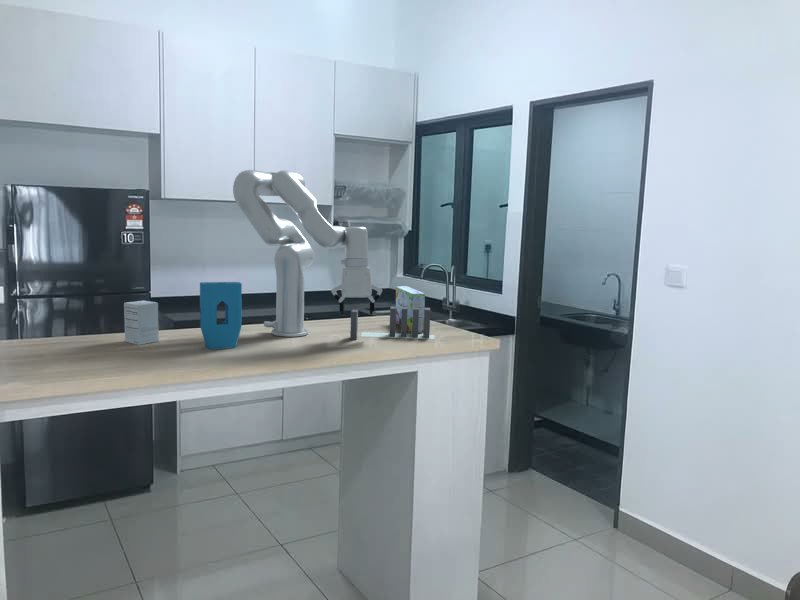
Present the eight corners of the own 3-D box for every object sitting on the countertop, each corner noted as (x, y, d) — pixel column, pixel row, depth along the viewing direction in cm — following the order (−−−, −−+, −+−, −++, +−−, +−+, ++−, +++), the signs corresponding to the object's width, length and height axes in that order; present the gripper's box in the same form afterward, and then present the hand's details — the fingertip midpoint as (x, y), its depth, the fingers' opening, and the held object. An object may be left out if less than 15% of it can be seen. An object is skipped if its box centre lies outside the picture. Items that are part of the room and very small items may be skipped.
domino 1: (349, 340, 213) (350, 311, 211) (350, 338, 218) (351, 309, 216) (356, 341, 213) (356, 312, 211) (357, 338, 218) (358, 309, 216)
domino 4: (411, 337, 221) (412, 309, 219) (410, 334, 226) (412, 307, 224) (417, 337, 221) (418, 309, 219) (417, 335, 226) (418, 307, 224)
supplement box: (144, 338, 205) (143, 300, 203) (159, 341, 201) (158, 302, 199) (124, 342, 198) (123, 302, 197) (139, 345, 195) (138, 304, 193)
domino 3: (399, 337, 221) (400, 308, 219) (399, 334, 226) (400, 306, 224) (406, 337, 221) (407, 309, 219) (406, 334, 226) (407, 307, 224)
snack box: (393, 323, 250) (395, 286, 248) (407, 323, 252) (408, 286, 250) (410, 333, 230) (412, 292, 228) (425, 333, 232) (426, 292, 230)
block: (202, 349, 192) (201, 284, 189) (199, 346, 196) (199, 282, 194) (242, 347, 197) (242, 283, 194) (238, 344, 201) (238, 281, 199)
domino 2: (388, 336, 221) (389, 308, 219) (388, 333, 226) (389, 306, 224) (395, 336, 221) (396, 308, 219) (395, 334, 226) (396, 306, 224)
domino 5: (422, 337, 221) (423, 309, 219) (422, 335, 226) (423, 307, 224) (429, 338, 221) (430, 309, 219) (428, 335, 226) (429, 307, 224)
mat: (360, 337, 219) (360, 336, 219) (362, 333, 227) (362, 332, 227) (435, 340, 219) (435, 339, 219) (434, 335, 227) (434, 334, 227)
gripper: (329, 264, 208) (330, 315, 210) (381, 264, 208) (382, 315, 210) (332, 262, 216) (332, 312, 218) (382, 262, 215) (382, 312, 218)
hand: (357, 313), depth 214 cm, fingers open, 9 cm apart
